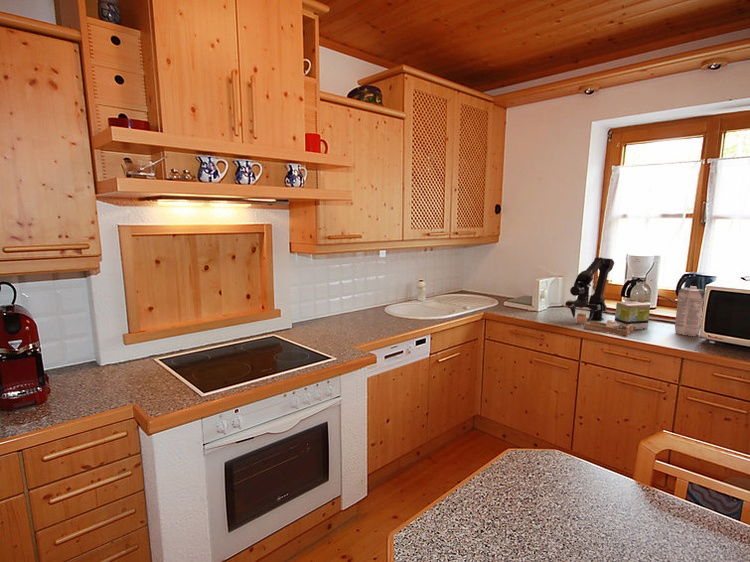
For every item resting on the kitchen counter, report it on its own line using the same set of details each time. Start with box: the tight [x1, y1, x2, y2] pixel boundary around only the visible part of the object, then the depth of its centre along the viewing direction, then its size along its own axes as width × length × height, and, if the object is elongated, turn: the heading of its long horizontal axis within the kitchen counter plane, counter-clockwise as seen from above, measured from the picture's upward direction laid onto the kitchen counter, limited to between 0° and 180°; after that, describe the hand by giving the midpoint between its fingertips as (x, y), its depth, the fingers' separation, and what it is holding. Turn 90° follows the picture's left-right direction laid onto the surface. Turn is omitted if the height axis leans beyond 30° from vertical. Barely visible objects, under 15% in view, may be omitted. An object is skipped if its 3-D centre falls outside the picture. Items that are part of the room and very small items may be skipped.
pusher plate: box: [616, 323, 623, 330], centre depth 236 cm, size 7×2×4 cm, turn 134°
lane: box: [583, 320, 634, 337], centre depth 240 cm, size 10×22×5 cm, turn 44°
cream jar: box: [605, 319, 617, 328], centre depth 239 cm, size 6×6×6 cm
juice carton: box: [674, 285, 705, 338], centre depth 231 cm, size 9×10×27 cm
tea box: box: [614, 301, 651, 330], centre depth 246 cm, size 15×10×15 cm, turn 105°
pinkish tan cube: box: [576, 312, 588, 325], centre depth 256 cm, size 6×6×6 cm
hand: (581, 318), depth 256 cm, fingers open, 9 cm apart
